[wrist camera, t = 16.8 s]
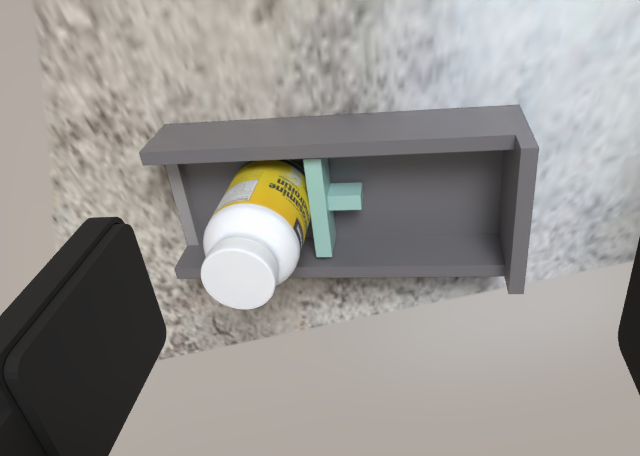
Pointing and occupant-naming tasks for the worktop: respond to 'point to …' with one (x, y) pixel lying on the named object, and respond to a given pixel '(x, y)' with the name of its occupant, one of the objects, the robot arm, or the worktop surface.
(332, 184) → the pusher paddle
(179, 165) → the tray
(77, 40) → the worktop surface
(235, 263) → the pill bottle
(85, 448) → the robot arm
